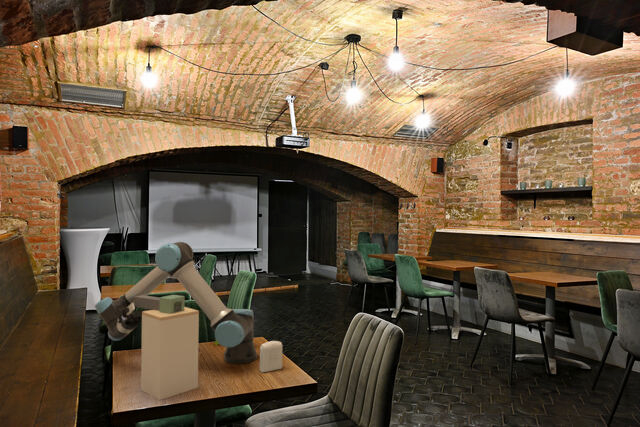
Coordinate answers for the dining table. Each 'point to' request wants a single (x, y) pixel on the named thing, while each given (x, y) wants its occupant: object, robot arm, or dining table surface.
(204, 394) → the dining table surface
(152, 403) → the dining table surface
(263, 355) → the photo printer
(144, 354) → the pedestal
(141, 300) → the bar
